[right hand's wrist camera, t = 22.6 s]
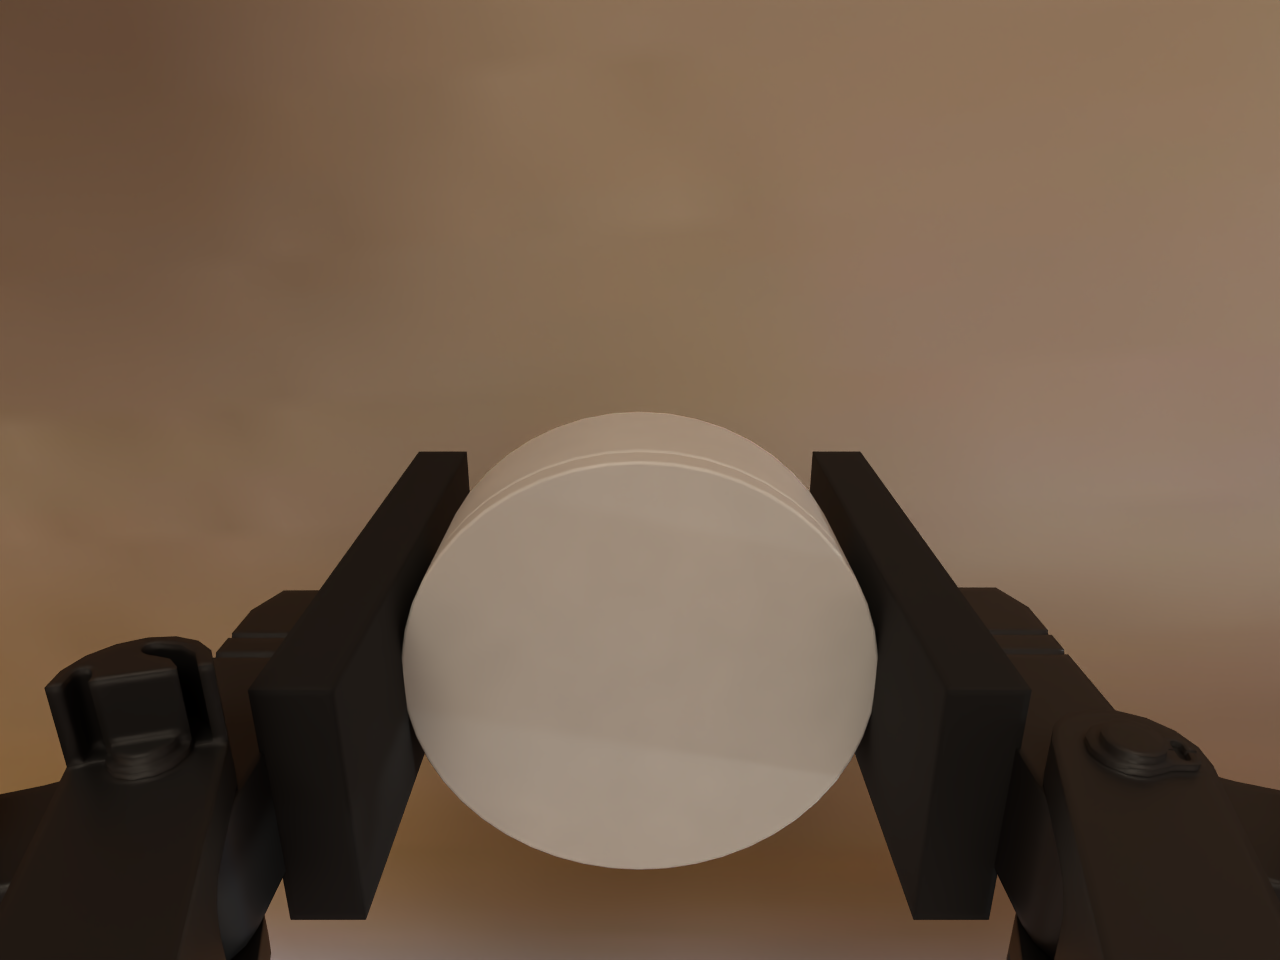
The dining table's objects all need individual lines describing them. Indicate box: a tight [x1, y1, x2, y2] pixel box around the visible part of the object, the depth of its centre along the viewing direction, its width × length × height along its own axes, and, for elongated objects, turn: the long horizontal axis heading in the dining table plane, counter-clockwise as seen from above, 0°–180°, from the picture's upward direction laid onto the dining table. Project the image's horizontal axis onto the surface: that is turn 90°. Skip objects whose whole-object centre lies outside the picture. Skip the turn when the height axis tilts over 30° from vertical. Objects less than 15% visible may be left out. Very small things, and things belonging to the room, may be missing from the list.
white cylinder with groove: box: [402, 412, 878, 870], centre depth 11 cm, size 6×6×2 cm
